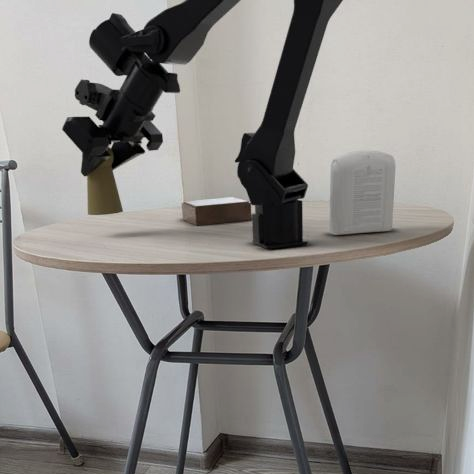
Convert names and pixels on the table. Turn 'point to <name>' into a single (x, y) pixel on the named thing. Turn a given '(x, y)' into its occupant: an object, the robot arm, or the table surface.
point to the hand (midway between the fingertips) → (94, 173)
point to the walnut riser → (216, 211)
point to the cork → (103, 190)
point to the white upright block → (362, 192)
